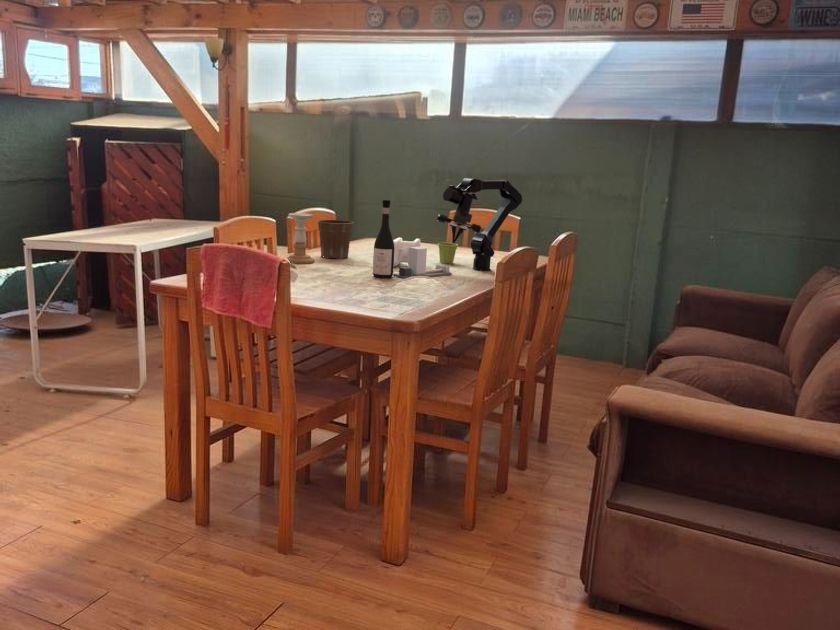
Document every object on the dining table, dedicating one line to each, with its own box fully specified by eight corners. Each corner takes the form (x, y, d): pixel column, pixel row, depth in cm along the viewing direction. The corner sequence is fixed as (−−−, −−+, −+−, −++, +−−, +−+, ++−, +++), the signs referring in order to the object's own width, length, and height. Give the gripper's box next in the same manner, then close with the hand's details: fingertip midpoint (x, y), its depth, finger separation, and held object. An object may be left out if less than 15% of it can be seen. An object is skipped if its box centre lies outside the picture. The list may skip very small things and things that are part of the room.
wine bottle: (390, 279, 280) (394, 201, 273) (370, 277, 281) (373, 199, 274) (394, 276, 287) (398, 200, 281) (375, 274, 289) (379, 198, 282)
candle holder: (290, 258, 315) (291, 212, 311) (317, 260, 314) (319, 214, 309) (281, 262, 303) (282, 214, 299) (309, 264, 302) (310, 216, 297)
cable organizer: (414, 269, 307) (416, 242, 304) (390, 267, 308) (391, 240, 306) (419, 264, 321) (421, 238, 319) (396, 262, 323) (397, 236, 320)
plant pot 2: (460, 263, 331) (461, 244, 329) (450, 265, 324) (451, 246, 322) (443, 260, 336) (444, 242, 334) (432, 262, 328) (433, 243, 326)
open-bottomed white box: (416, 271, 294) (418, 246, 291) (425, 273, 290) (426, 248, 288) (407, 272, 290) (409, 247, 288) (416, 274, 287) (417, 249, 284)
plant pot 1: (308, 255, 326) (309, 220, 322) (334, 253, 338) (336, 218, 334) (333, 260, 316) (334, 224, 312) (359, 258, 328) (361, 222, 324)
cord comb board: (438, 271, 304) (438, 262, 303) (451, 274, 298) (452, 265, 298) (393, 275, 287) (393, 266, 286) (406, 279, 282) (407, 269, 281)
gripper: (442, 199, 296) (431, 236, 297) (486, 212, 295) (475, 248, 296) (442, 202, 307) (432, 237, 308) (484, 214, 306) (474, 249, 307)
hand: (453, 243), depth 305 cm, fingers closed
